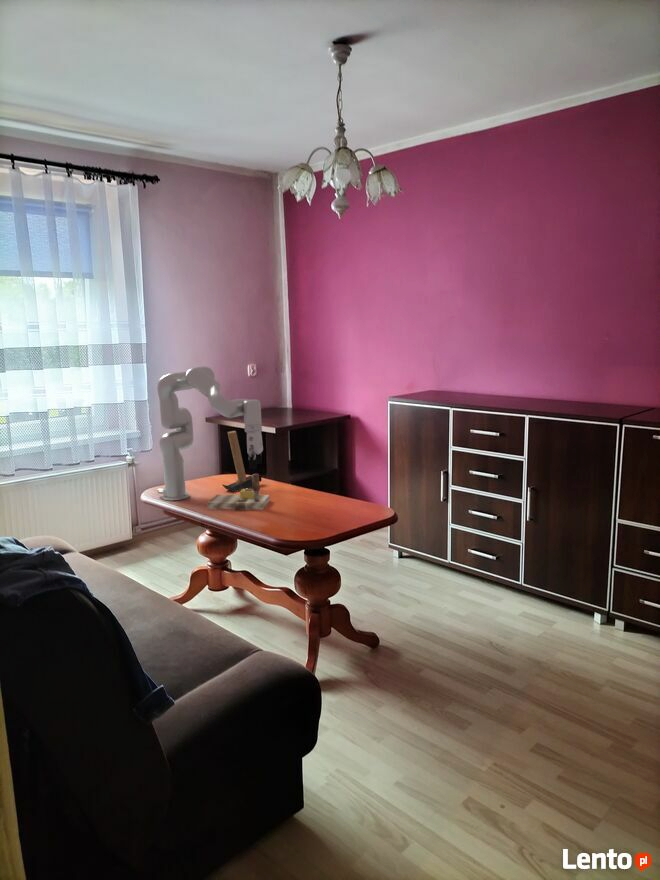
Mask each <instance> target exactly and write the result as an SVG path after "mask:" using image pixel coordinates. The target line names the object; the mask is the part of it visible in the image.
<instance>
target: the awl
mask: <svg viewBox="0 0 660 880" xmlns="http://www.w3.org/2000/svg"><path fill="white" fill-rule="evenodd" d="M259 475H260V473H253V474H251V476H252V483H253V487H252V489H253V491H254V501H259V495H260V491H261V490H260V482H259Z"/></svg>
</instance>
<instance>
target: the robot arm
mask: <svg viewBox="0 0 660 880" xmlns="http://www.w3.org/2000/svg"><path fill="white" fill-rule="evenodd" d="M156 389H157V394H158V395H157V396H158V399H159V400H158V401H159V411H160V412H159V414H160V422H161V424H160V425H161V426H162V427H163V429H165V430H167V431H168V430H174V429H175V430H174V431H170V432H166V433H164V434H163V435H162V436H161V437H160V439H159V443H158V444H159V448H160V452H161V456H162V466H163V478H164V488H157V491H156V492H157V493H158V494H159V495H161V494H162V500H164V501H170V502H171V501H172V502H173V501H174V500H175V501H182V500H185V499H188V498H189V497H190V493H189V492H187V490H186V487H187V486H186V476H185V475H186V474H185V461H184V457H183V455H182V454H181V451H183V450H184V451H185V450H186V449H189V448H190V447H192V445H193V444H194V427H193V417H192V413H191V411H190V410H189V409H188V408H186V407H184V406H183V407H182V406H179V400H178V399H179V398H178V396H177V395H176V393H175V392H180V391H182V392H183V391H187V390H193V389H195V390H197V391H198V392H199V393H200V394H202V395H203V396H205V397H206V398H207V399H208V403H209V404H210V406H211V408H212V409H213V410H215V411H216V412H217V413H218V414H219V415H222V416H223V417H224V418H227V419H233V418H238V417H240V416H241V417H243V424H244V432H245V433H246V449H247V454H248V468H249V470H256V469H257V465H262V463H263V460H262V453H263V451H264V445H263V444H264V443H263V435H262V431H263V423H262V409H261V406H262V405H261V402H260V400H259V399H246V398H234V399H231V400H229V399H228V398H227V399H226V398H225V397H224V396H223V395H222V394H221V393H220V392H221V389H222V385H221V383H220V382H219V381H218V380H216V379H215V373H214V371H213V369H211V368H210V367H208V366H197V367H196V366H195V367H191V368H189V369H188V370H187V371H180V372H178V371H177V372H171V373H170V372H169V373H167V374H165V375H163V376H161V377H160V378H159V380H158V382H157V388H156Z"/></svg>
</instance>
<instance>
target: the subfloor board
mask: <svg viewBox="0 0 660 880" xmlns="http://www.w3.org/2000/svg"><path fill="white" fill-rule="evenodd" d="M270 502H271V500H270V494H259V501H254V498H240V494H216V495H215V496H213V497H212V498H211V499H210V500H209V501H208V502H206V503H207V510H216V511H217V510H220V511H221V509H223V510H224V509H229V510H231V509H232V510H231V511H233V510H234V511H236V512H237V511H238V512H241V511H242V512H244V511H246V510H247V511H248V510H249V511H256V510H257V511H263V510H264V509H265V508H266V506H267V505H268V504H269V503H270ZM264 507H265V508H264Z"/></svg>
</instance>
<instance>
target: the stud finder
mask: <svg viewBox="0 0 660 880" xmlns="http://www.w3.org/2000/svg"><path fill="white" fill-rule="evenodd" d="M239 495H240V498H254V491H253V488H248V489H242V490H240V491H239Z"/></svg>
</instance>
